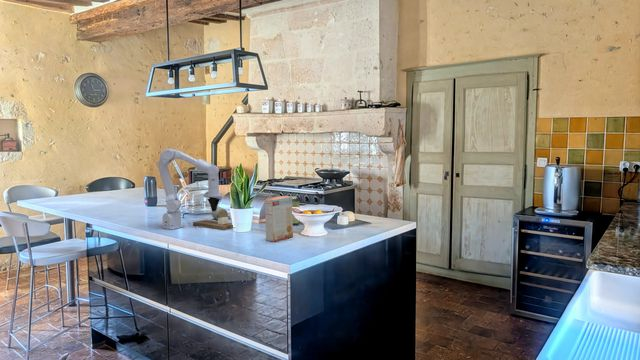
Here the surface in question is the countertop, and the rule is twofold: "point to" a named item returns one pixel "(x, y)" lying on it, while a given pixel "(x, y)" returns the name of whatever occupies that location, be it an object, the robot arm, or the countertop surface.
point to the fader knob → (223, 220)
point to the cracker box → (278, 218)
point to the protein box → (295, 204)
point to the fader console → (212, 224)
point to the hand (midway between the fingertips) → (214, 211)
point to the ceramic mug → (219, 213)
